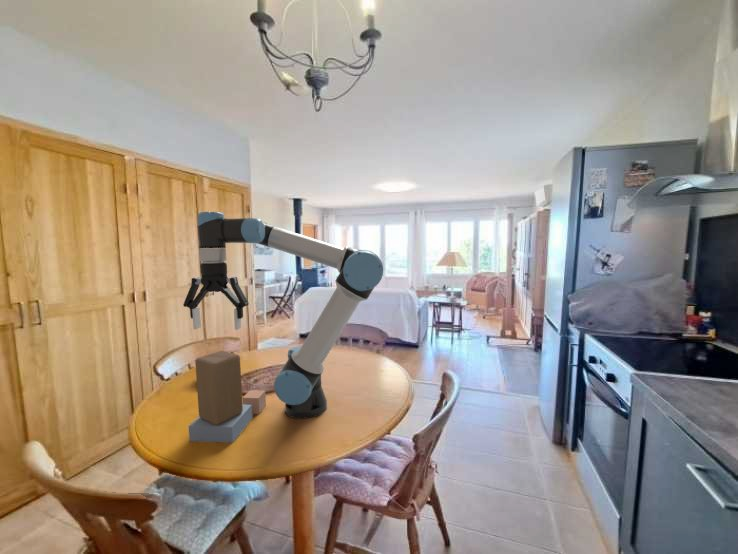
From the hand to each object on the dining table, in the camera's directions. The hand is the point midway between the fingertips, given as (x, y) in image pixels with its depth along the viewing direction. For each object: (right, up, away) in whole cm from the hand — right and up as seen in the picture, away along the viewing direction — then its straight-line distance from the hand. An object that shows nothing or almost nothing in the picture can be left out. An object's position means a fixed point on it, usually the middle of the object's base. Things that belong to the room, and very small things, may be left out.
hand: (217, 328), depth 103 cm
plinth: (0, -34, +3) cm, 34 cm away
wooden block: (0, -29, +2) cm, 29 cm away
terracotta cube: (+6, -33, +16) cm, 37 cm away
